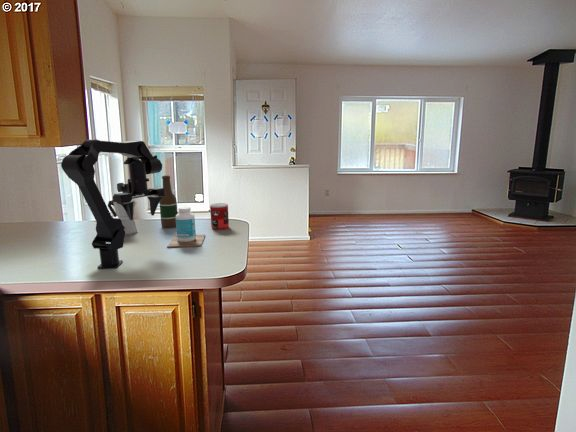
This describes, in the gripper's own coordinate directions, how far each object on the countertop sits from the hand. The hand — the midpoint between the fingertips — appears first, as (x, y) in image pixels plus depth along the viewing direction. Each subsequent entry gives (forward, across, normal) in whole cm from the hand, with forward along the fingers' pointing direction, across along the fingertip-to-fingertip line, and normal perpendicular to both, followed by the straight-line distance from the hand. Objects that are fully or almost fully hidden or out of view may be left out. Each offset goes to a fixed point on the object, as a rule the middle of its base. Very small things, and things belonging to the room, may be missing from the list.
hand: (142, 217), depth 149 cm
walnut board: (+13, -17, +4) cm, 22 cm away
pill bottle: (+13, -17, +4) cm, 22 cm away
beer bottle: (+13, -31, -24) cm, 41 cm away
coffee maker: (+13, -13, -32) cm, 36 cm away
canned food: (+13, -41, -1) cm, 43 cm away
